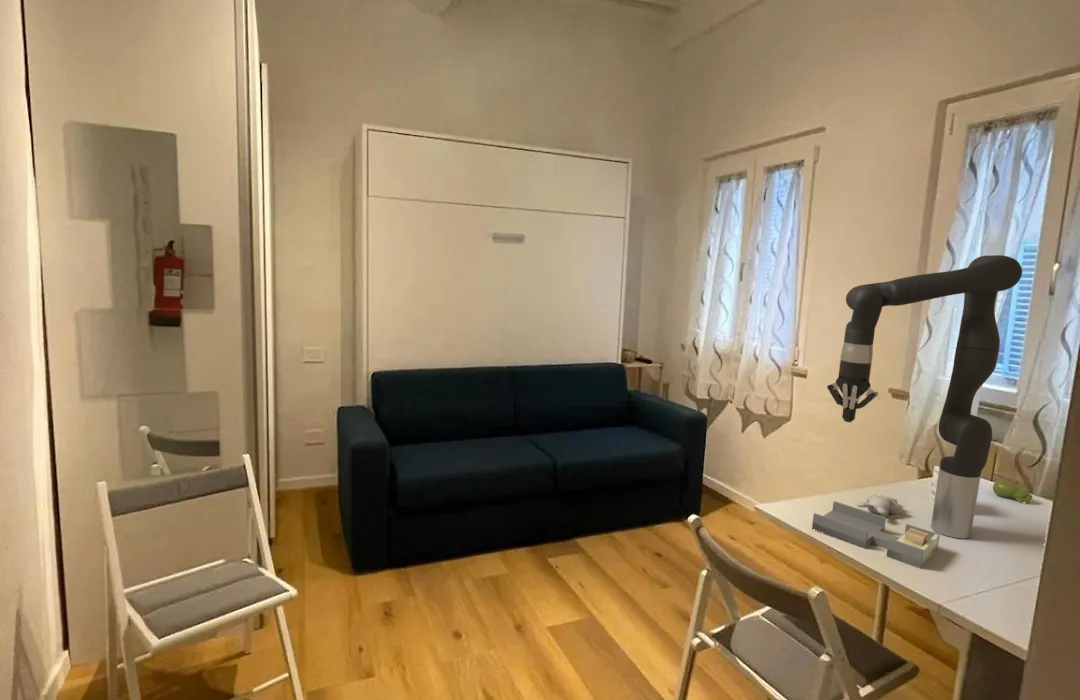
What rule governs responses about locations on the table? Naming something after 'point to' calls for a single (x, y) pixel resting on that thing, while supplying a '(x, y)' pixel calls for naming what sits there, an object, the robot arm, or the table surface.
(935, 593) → the table surface
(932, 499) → the ink box
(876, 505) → the bunny figurine
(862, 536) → the trap box
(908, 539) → the birch block
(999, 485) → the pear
